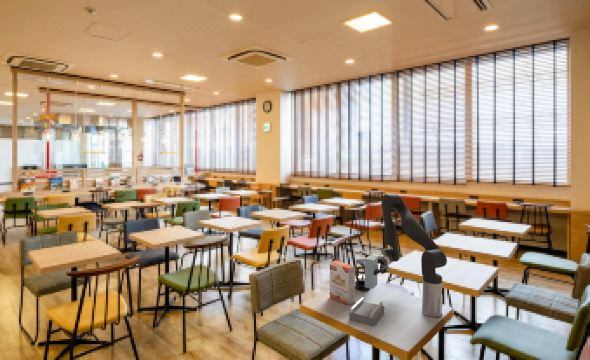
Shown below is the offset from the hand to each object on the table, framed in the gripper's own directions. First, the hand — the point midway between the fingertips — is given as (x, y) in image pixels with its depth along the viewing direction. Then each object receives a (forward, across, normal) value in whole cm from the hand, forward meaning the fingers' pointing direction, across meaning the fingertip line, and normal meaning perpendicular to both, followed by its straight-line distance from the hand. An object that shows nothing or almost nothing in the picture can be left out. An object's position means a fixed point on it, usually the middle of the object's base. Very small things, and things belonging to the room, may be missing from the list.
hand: (369, 272), depth 179 cm
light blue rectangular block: (-2, 0, +8) cm, 8 cm away
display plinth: (+4, 0, +22) cm, 22 cm away
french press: (-29, -15, +22) cm, 40 cm away
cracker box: (-7, -19, +22) cm, 30 cm away
